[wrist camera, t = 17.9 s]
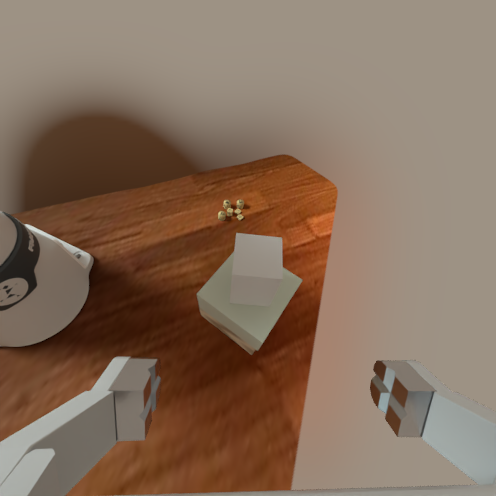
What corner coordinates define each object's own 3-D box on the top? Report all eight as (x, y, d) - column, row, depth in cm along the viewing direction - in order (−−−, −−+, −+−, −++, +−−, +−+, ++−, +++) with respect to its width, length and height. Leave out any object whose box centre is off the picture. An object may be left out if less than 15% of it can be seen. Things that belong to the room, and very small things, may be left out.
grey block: (269, 306, 31) (282, 279, 24) (229, 303, 31) (231, 274, 24) (269, 271, 34) (281, 237, 27) (233, 267, 34) (236, 233, 27)
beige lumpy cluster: (217, 222, 50) (217, 216, 49) (220, 203, 53) (220, 197, 51) (242, 225, 50) (243, 219, 49) (244, 206, 53) (245, 200, 52)
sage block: (199, 307, 35) (196, 294, 31) (240, 259, 40) (242, 241, 36) (257, 350, 33) (262, 343, 29) (293, 294, 38) (302, 280, 33)
